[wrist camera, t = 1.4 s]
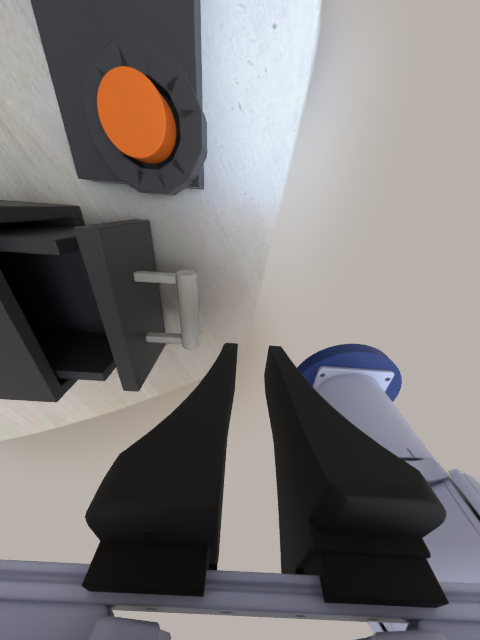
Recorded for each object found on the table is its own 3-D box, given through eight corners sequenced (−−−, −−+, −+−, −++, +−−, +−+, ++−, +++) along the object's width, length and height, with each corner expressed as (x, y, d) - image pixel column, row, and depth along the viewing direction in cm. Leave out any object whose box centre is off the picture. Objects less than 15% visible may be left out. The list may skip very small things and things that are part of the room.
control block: (211, 198, 15) (203, 196, 12) (97, 190, 15) (60, 186, 12) (210, -46, 10) (195, -152, 7) (38, -62, 10) (-51, -176, 7)
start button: (178, 166, 12) (169, 160, 10) (124, 162, 12) (106, 155, 10) (173, 88, 10) (161, 68, 9) (110, 83, 10) (87, 62, 9)
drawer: (205, 224, 15) (183, 235, 10) (207, 345, 21) (194, 395, 16) (-32, 207, 15) (-188, 208, 10) (34, 334, 21) (-42, 381, 15)
